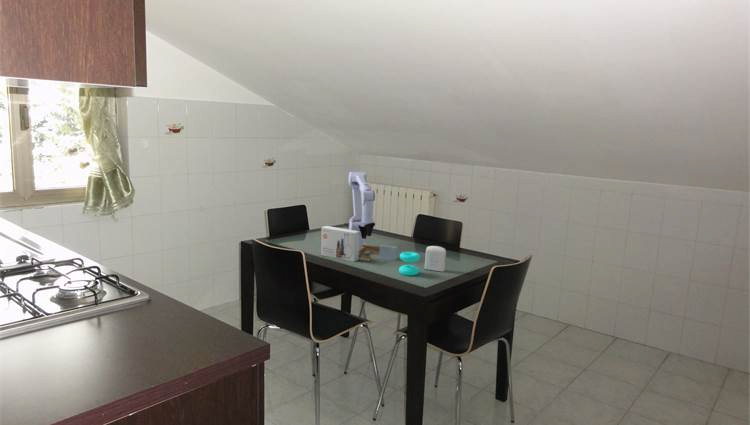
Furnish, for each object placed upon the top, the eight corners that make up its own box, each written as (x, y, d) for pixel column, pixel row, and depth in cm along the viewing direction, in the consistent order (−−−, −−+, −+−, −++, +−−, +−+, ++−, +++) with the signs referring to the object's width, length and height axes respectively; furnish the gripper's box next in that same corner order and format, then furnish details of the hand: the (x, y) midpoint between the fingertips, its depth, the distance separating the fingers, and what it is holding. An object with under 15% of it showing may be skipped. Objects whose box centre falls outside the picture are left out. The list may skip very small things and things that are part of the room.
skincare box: (320, 255, 291) (320, 227, 288) (325, 253, 295) (326, 225, 293) (353, 262, 281) (354, 232, 278) (359, 259, 286) (360, 230, 283)
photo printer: (445, 270, 273) (446, 246, 271) (443, 272, 269) (445, 248, 267) (425, 267, 276) (426, 244, 274) (423, 269, 272) (425, 246, 270)
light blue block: (381, 257, 293) (381, 244, 292) (396, 259, 290) (397, 246, 289) (379, 258, 290) (379, 245, 289) (394, 260, 287) (395, 247, 286)
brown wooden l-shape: (363, 251, 303) (363, 244, 303) (385, 254, 299) (386, 247, 298) (355, 256, 292) (355, 249, 292) (378, 259, 288) (379, 252, 287)
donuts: (421, 252, 267) (419, 257, 257) (419, 271, 269) (418, 277, 259) (401, 250, 269) (398, 255, 259) (400, 269, 270) (397, 275, 261)
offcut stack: (362, 258, 289) (362, 250, 288) (371, 259, 287) (371, 251, 286) (360, 259, 286) (361, 251, 285) (369, 260, 285) (369, 252, 284)
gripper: (369, 215, 282) (368, 240, 285) (379, 211, 296) (377, 235, 298) (357, 214, 285) (356, 239, 287) (367, 210, 298) (366, 234, 300)
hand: (366, 237), depth 293 cm, fingers open, 7 cm apart
